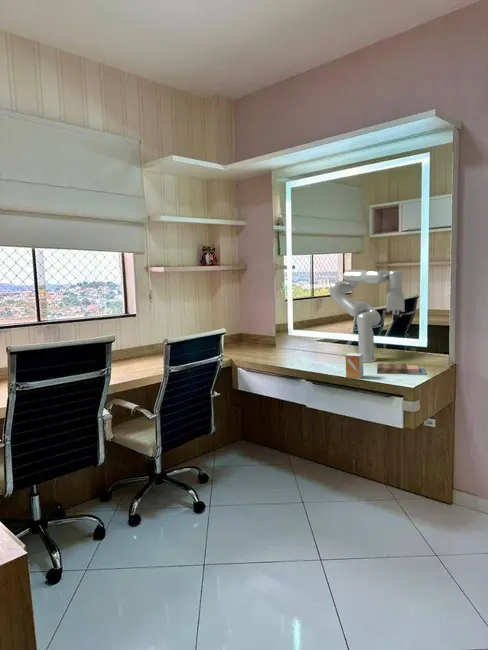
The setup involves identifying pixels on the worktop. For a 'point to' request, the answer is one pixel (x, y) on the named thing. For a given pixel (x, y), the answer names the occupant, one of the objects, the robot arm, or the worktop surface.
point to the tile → (412, 368)
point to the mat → (421, 372)
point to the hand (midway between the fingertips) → (395, 321)
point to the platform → (391, 368)
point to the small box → (354, 365)
